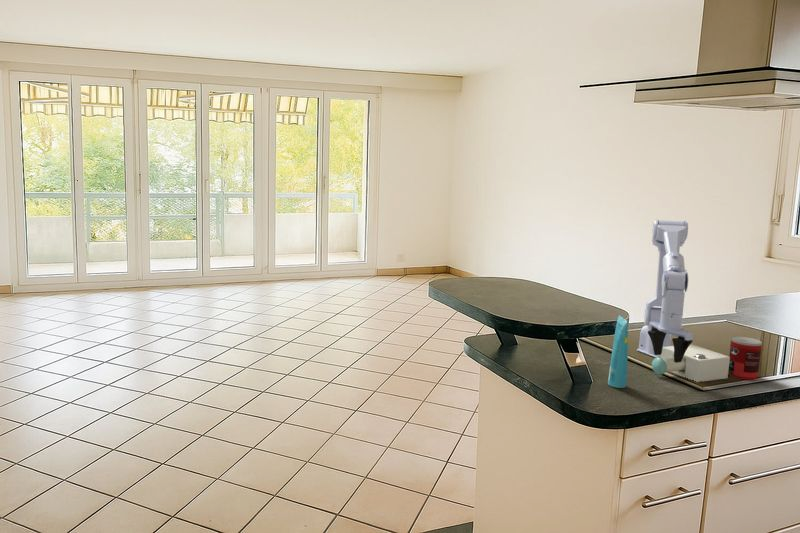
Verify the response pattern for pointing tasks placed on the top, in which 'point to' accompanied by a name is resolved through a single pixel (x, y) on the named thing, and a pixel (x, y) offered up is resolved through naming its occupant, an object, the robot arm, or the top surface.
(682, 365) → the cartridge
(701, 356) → the plunger
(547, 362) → the top surface
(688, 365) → the housing
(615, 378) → the tube
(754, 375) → the canned food
